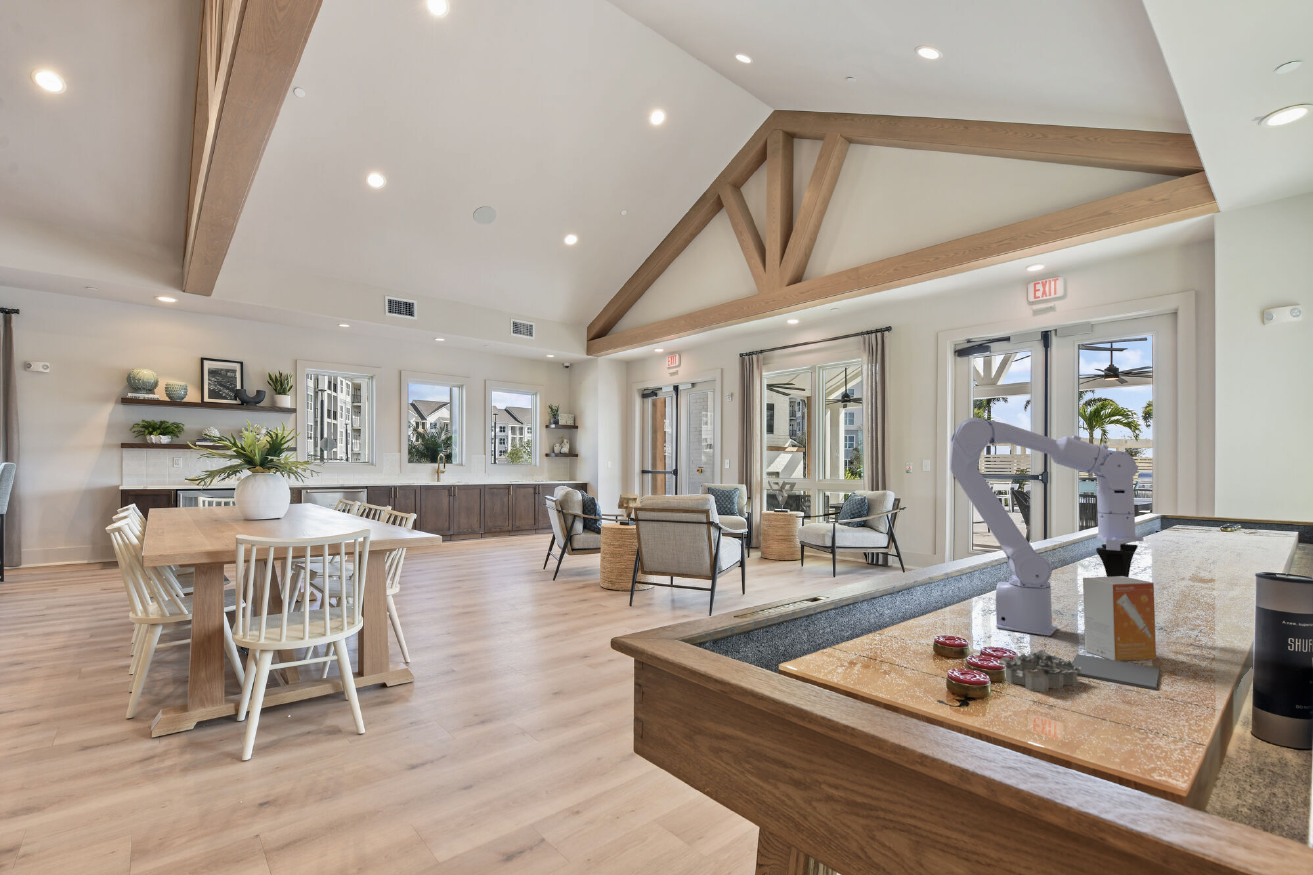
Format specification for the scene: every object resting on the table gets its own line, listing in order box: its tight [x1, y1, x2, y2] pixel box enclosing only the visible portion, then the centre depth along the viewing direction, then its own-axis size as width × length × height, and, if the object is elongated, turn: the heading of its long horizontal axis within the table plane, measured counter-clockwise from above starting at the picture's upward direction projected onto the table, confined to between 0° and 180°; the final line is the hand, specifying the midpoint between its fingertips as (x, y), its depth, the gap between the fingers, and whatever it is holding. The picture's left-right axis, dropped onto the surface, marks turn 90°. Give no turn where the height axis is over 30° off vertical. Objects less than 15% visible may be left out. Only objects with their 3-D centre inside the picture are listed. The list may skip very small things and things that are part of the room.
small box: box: [1082, 576, 1157, 662], centre depth 106 cm, size 8×6×13 cm
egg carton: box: [998, 649, 1082, 693], centre depth 94 cm, size 10×7×4 cm
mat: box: [1071, 653, 1161, 691], centre depth 97 cm, size 11×11×1 cm
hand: (1118, 584), depth 117 cm, fingers open, 6 cm apart
